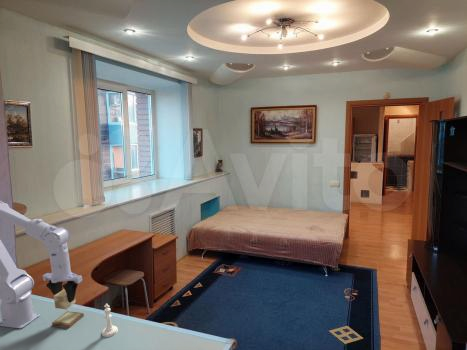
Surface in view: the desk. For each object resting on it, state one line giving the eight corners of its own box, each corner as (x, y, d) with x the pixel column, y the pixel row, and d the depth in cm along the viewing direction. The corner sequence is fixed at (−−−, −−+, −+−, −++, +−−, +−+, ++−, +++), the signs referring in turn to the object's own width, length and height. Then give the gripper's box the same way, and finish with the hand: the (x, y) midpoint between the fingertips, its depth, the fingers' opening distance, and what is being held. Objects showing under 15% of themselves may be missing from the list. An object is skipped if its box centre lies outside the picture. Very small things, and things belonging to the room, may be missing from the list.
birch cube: (55, 308, 109) (53, 295, 108) (65, 301, 113) (63, 289, 113) (66, 309, 108) (64, 297, 107) (75, 302, 112) (74, 290, 112)
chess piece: (112, 337, 101) (109, 308, 100) (98, 336, 102) (95, 307, 101) (120, 328, 106) (117, 300, 105) (107, 327, 107) (104, 299, 106)
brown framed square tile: (52, 325, 109) (51, 322, 109) (67, 314, 116) (67, 311, 116) (69, 328, 108) (68, 324, 107) (83, 316, 114) (83, 312, 114)
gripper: (33, 267, 107) (39, 304, 109) (69, 269, 103) (74, 308, 105) (50, 258, 113) (55, 294, 115) (84, 260, 110) (89, 297, 112)
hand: (65, 300), depth 111 cm, fingers closed on birch cube, 4 cm apart
